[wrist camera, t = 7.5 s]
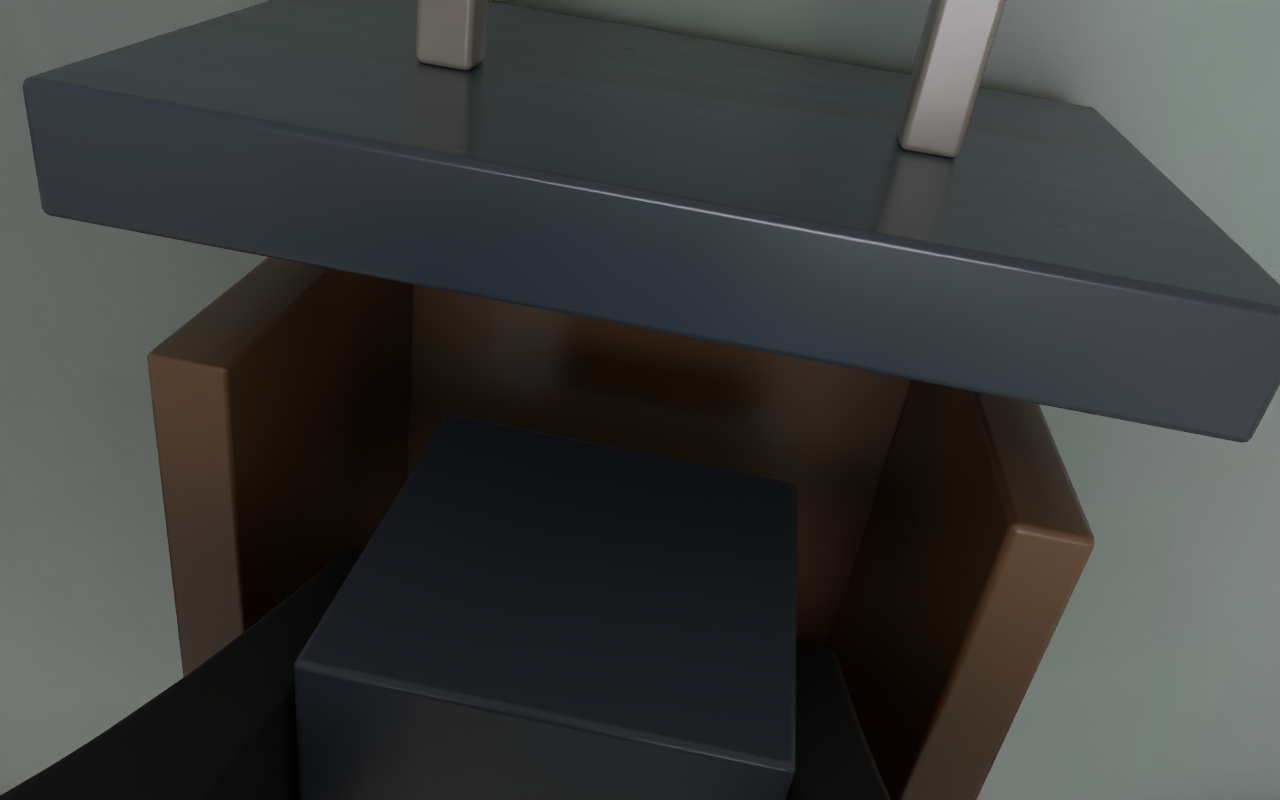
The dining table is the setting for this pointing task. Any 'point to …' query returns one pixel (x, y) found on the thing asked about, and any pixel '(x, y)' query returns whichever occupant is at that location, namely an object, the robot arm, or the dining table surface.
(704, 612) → the block
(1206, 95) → the dining table surface
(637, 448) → the drawer
